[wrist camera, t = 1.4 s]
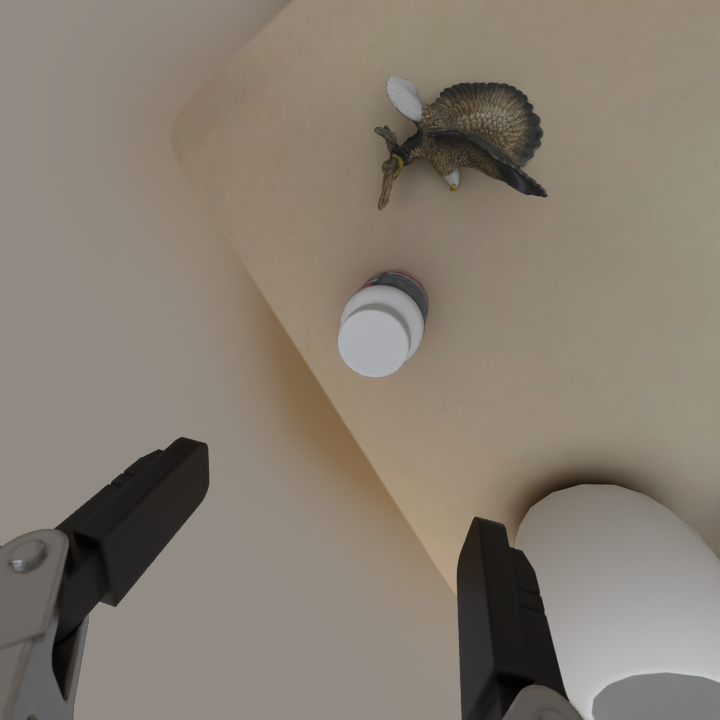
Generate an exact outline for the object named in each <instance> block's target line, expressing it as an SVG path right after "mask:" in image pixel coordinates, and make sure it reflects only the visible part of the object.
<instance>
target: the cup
mask: <svg viewBox="0 0 720 720" xmlns="http://www.w3.org/2000/svg"><path fill="white" fill-rule="evenodd" d="M514 548H515V549H518V550H522V551H523V553H524V554H525V556H526V557H527V559H528V561H529V562H530V564H531V565H532V567H533V568H534V570H535V573H536V577H537V581H538V585H539V589H540V596H541V597H542V601H543V605H544V609H545V615H546V617H547V621H548V624H549V628H550V632H551V636H552V640H553V644H554V648H555V652H556V656H557V660H558V664H559V668H560V672H561V676H562V680H563V684H564V688H565V691H566V694H567V696H568V697H569V698H570V700H571V701H572V702H573V704H574V705H575V706H576V708H577V709H578V710H579V712H580V713H581V714H582V716H583V717H584V718H585V720H720V560H719V559H718V558H717V556H716V555H715V554H714V553H713V552H712V550H711V549H710V548H709V547H708V545H707V544H706V543H705V542H704V541H703V539H702V538H701V537H700V536H699V534H698V533H697V532H696V531H695V530H694V529H693V528H692V527H691V526H690V525H688V524H687V523H686V522H684V521H683V520H682V519H681V518H679V517H678V516H677V515H676V514H674V513H673V512H672V511H671V510H669V509H668V508H666V507H665V506H663V505H662V504H660V503H658V502H657V501H655V500H653V499H652V498H650V497H648V496H647V495H645V494H642V493H639V492H636V491H633V490H629V489H626V488H623V487H620V486H617V485H591V484H581V485H578V486H574V487H570V488H567V489H563V490H559V491H556V492H552V493H551V494H549V495H548V496H546V497H545V498H543V499H542V500H540V501H539V502H538V503H536V504H535V505H533V506H532V507H530V509H529V511H528V512H527V514H526V516H525V517H524V519H523V521H522V522H521V524H520V526H519V529H518V532H517V536H516V539H515V543H514Z"/></svg>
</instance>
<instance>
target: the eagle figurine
mask: <svg viewBox="0 0 720 720" xmlns="http://www.w3.org/2000/svg"><path fill="white" fill-rule="evenodd" d="M386 90H387V94H388V96H389V98H390V101H391V103H392V104H393V106H394V107H395V108H396V109H397V110H398V111H399V112H400V113H401V114H402V115H403V116H404V117H406V118H408V119H410V120H412V121H413V122H414V123H415V125H416V126H417V128H418V132H417V133H416V134H414V135H413V136H412V137H409V138H408V139H407V141H406V142H404V144H403V145H402V146H398V145H397V139H396V134H395V133H394V132H391V130H390V129H389V128H388V127H387V126H386V125H385V126H384V128H381V127H376V128H375V130H374V131H375V132H376V133H377V134H379V135H381V136H383V137H384V138H385V140H386V143H387V147H388V150H389V152H390V154H391V155H390V158H389V160H388V161H386V162H384V163H383V165H382V170H383V172H384V178H383V185H382V193H381V197H380V199H379V204H378V209H379V210H382V209H383V208H384V207H385V206H386V204H387V203H388V201H389V196H390V191H391V189H392V183H393V181H394V180H395V179H396V178H397V177H398V175H399V173H400V172H401V170H402V168H403V166H406V165H409V164H410V163H411V162H412V161H413V160H414V159H419V158H427V159H429V160H430V161H431V163H432V165H433V167H434V168H435V169H436V171H437V172H438V173H439V174H440V175H441V176H442V177H443V178H444V179H445V180H446V181H447V182H448V184H449V185H450V187H451V188H450V191H455V190H456V188H457V186H458V185H459V179H460V174H459V169H458V166H467V167H471V168H474V169H477V170H479V171H481V172H482V173H484V174H486V175H488V176H489V177H492V178H494V179H498V180H501V181H504V182H506V183H507V184H508V185H510V186H511V187H512V188H514V189H516V190H518V191H519V192H521V193H524V194H527V195H535V196H542V197H547V196H548V195H547V194H546V190H545V189H544V188H542V186H541V185H539V184H537V182H536V181H535V180H534V179H532V178H530V177H528V175H527V174H526V173H524V172H523V171H521V170H520V168H519V166H524V165H525V164H526V161H527V160H528V159H531V158H532V157H533V156H534V150H535V149H538V148H539V147H540V146H541V141H540V138H541V137H542V136H543V130H542V129H541V128H540V127H539V124H540V122H541V120H540V118H539V116H537V115H536V114H534V113H532V112H531V111H532V110H533V105H532V104H530V103H528V102H527V100H528V98H527V96H526V95H524V94H523V93H522V92H521V91H519V90H518V91H517V90H516V88H515V87H513V86H508V84H504V83H503V84H499V83H488V84H486V83H473V84H470V83H460V84H458V85H453V86H452V87H451V88H445V89H444V91H443V92H441V93H440V97H438V98H437V99H436V103H433V104H432V105H431V106H429V105H427V104H425V103H423V102H422V100H421V98H420V96H419V94H418V92H417V89H416V87H415V86H414V84H413V83H411V82H410V81H409V80H407V79H403V78H399V77H397V76H393V77H389V78H388V81H387V83H386ZM518 165H519V166H518Z"/></svg>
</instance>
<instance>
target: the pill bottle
mask: <svg viewBox="0 0 720 720" xmlns="http://www.w3.org/2000/svg"><path fill="white" fill-rule="evenodd" d="M427 312H428V298H427V294H426V292H425V289H424V288H423V286H422V285H421V283H420V282H419V281H418V280H417V279H416V278H414V277H413V276H412V275H410V274H408V273H405V272H402V271H397V270H389V271H384V272H381V273H378V274H376V275H375V276H373V277H372V278H371V279H370V280H368V281H367V282H366V283H365V284H364V286H363V287H361V288H360V290H359V291H357V292H356V293H355V294H354V295H353V296H352V297H351V299H350V300H349V301H348V302H347V304H346V306H345V308H344V310H343V312H342V316H341V321H340V331H339V335H338V347H339V352H340V354H341V356H342V358H343V360H344V362H345V363H346V364H347V365H348V366H349V367H350V368H351V369H352V370H354V371H355V372H357V373H359V374H361V375H364V376H367V377H384V376H387V375H390V374H392V373H394V372H395V371H397V370H398V369H399V368H400V367H401V366H402V365H403V363H404V362H405V361H407V360H408V359H409V358H411V357H412V356H413V354H414V353H415V352H416V350H417V349H418V347H419V345H420V343H421V340H422V337H423V334H424V328H425V321H426V317H427Z"/></svg>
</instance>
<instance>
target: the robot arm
mask: <svg viewBox="0 0 720 720" xmlns="http://www.w3.org/2000/svg"><path fill="white" fill-rule="evenodd" d="M208 458H209V457H208V446H207V444H206V443H203V442H199V441H195V440H192V439H188V438H184V437H181V438H179V439H177V440H175V441H174V442H173V443H172V444H171V445H170V446H169V447H168V448H166V449H165V450H164V451H163V450H159V449H158V450H156V451H154V452H152V453H150V454H148V455H146V456H144V457H141V458H139V459H138V460H137V461H136V462H135V463H133V464H132V465H131V466H130V467H128V468H127V469H126V470H125V471H124V473H123V474H120V475H119V476H118V477H116V478H115V479H114V480H113V481H112V482H111V484H110V485H109V484H108V485H107V486H105V487H104V488H103V489H102V490H101V491H99V492H98V493H97V494H96V495H95V496H93V497H92V498H91V499H90V500H89V501H87V502H86V503H85V504H84V505H83V506H81V507H80V508H79V509H78V510H76V511H75V512H74V513H73V514H72V515H70V516H69V517H68V518H67V519H66V520H64V521H63V522H62V523H61V524H59V525H58V526H57V527H56V528H54V529H42V530H36V531H32V532H29V533H26V534H23V535H21V536H19V537H16V538H15V539H13V540H11V541H9V542H8V543H6V544H5V545H3V546H0V720H73V714H74V703H75V697H76V691H77V686H78V680H79V674H80V669H81V663H82V657H83V651H84V645H85V639H86V634H87V628H88V622H89V615H88V614H89V613H90V611H91V610H92V609H93V608H94V607H95V606H96V605H97V603H98V602H99V601H100V602H103V603H106V604H108V605H111V606H114V607H116V606H117V605H118V604H119V602H120V601H121V600H122V599H123V597H124V596H125V595H126V594H127V593H128V591H129V590H130V589H131V588H132V586H133V585H134V584H135V583H136V582H137V580H138V579H139V578H140V577H141V575H142V574H143V573H144V572H145V571H146V569H147V568H148V567H149V566H150V565H151V563H152V562H153V561H154V560H155V558H156V557H157V556H158V555H159V553H160V552H161V551H162V550H163V549H164V547H165V546H166V545H167V544H168V543H169V541H170V540H171V539H172V538H173V536H174V535H175V534H176V533H177V532H178V530H179V529H180V528H181V527H182V525H183V524H184V523H185V522H186V521H187V519H188V518H189V517H190V516H191V514H192V513H193V512H194V511H195V510H196V508H197V507H198V506H199V505H200V503H201V502H202V501H203V499H204V497H205V495H206V493H207V490H208V487H209V460H208ZM457 599H458V627H459V656H460V685H461V710H462V711H461V713H462V720H583V718H582V717H581V715H580V714H579V713H578V712H577V710H576V709H575V708H574V707H573V706H572V705H571V704H570V702H569V699H568V697H567V694H566V691H565V688H564V684H563V680H562V676H561V672H560V668H559V664H558V660H557V656H556V652H555V648H554V644H553V640H552V636H551V632H550V628H549V624H548V621H547V617H546V615H545V609H544V605H543V601H542V597H541V596H540V589H539V585H538V581H537V577H536V573H535V570H534V568H533V567H532V565H531V564H530V562H529V561H528V559H527V557H526V556H525V554H524V553H523V551H522V550H518V549H515V548H511V547H509V542H508V537H507V532H506V528H505V526H504V524H501V523H498V522H494V521H490V520H487V519H483V518H479V517H474V519H473V521H472V523H471V526H470V529H469V531H468V534H467V537H466V539H465V542H464V545H463V547H462V550H461V553H460V556H459V560H458V567H457Z"/></svg>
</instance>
